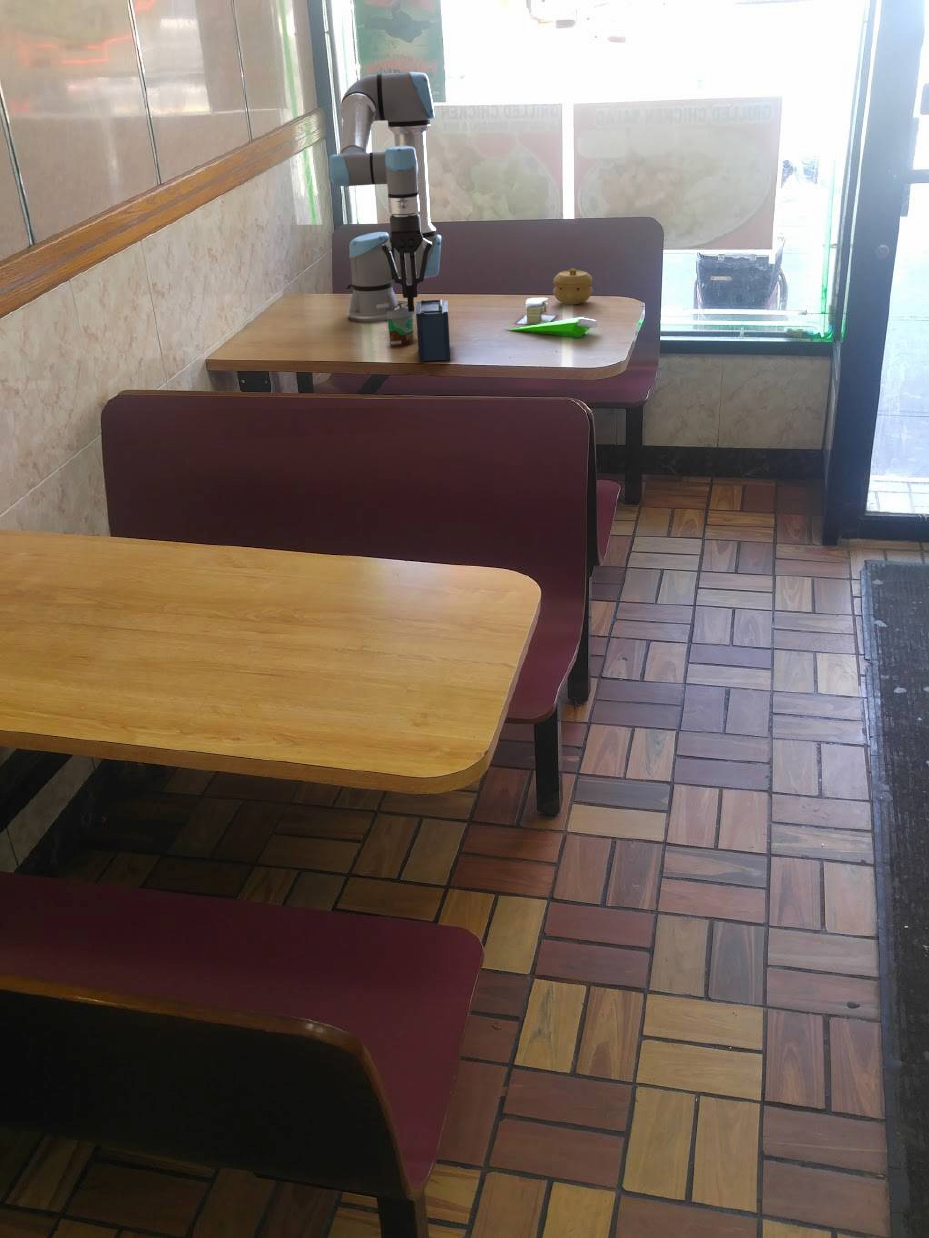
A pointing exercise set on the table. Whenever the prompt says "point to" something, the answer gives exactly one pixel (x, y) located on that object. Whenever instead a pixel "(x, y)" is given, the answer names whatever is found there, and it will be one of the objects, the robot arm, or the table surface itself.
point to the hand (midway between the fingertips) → (411, 310)
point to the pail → (433, 330)
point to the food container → (400, 325)
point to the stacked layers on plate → (536, 312)
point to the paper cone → (562, 327)
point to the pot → (572, 286)
